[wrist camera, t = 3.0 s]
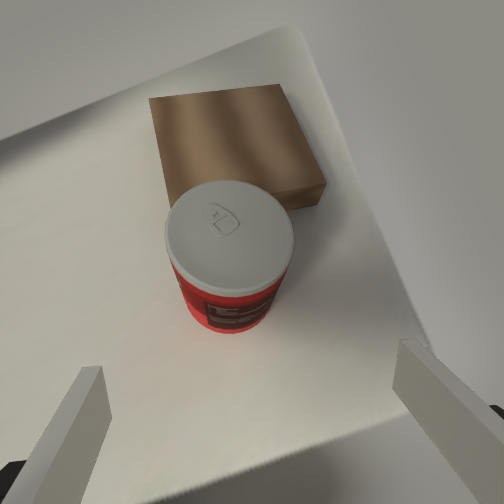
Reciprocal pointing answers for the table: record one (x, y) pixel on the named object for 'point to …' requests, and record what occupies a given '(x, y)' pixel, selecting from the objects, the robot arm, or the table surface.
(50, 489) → the robot arm
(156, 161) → the table surface
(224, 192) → the canned food
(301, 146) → the walnut stand
